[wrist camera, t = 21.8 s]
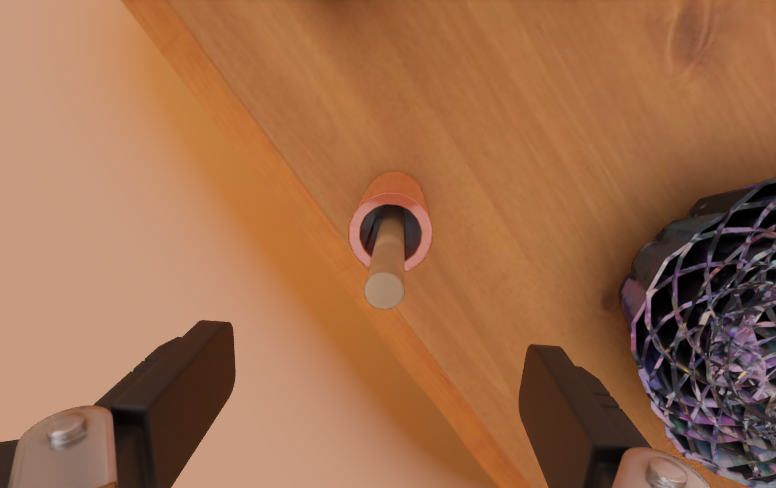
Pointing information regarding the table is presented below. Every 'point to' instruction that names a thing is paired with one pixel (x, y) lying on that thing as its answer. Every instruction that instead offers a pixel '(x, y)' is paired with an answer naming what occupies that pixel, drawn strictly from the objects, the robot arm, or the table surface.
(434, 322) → the table surface
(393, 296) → the stirring stick
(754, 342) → the decorative bowl
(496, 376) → the table surface
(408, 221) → the crock
